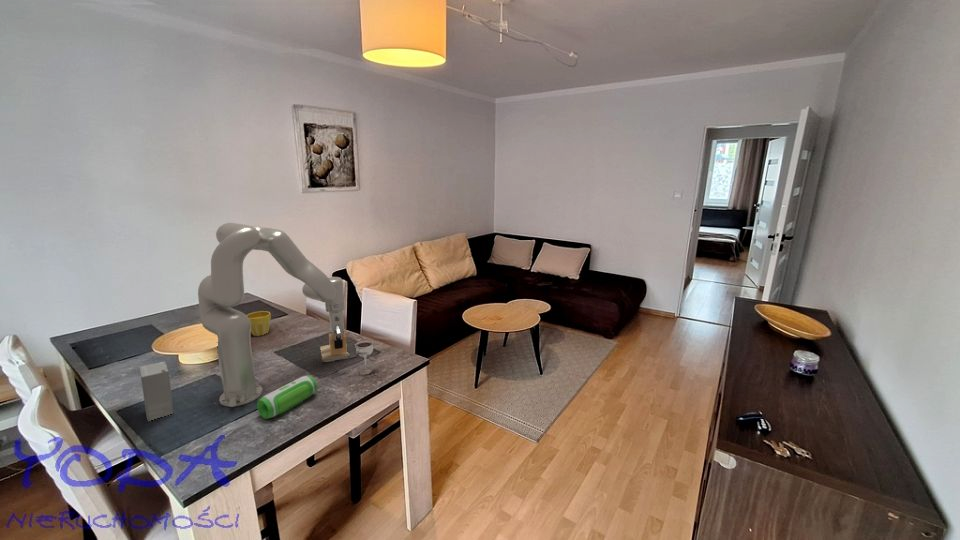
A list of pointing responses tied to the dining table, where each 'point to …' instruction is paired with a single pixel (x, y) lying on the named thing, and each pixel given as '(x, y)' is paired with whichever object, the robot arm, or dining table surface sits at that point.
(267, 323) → the plant pot
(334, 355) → the holder
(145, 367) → the skincare box
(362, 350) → the wineglass
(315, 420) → the dining table surface
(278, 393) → the speaker
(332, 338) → the tan block
